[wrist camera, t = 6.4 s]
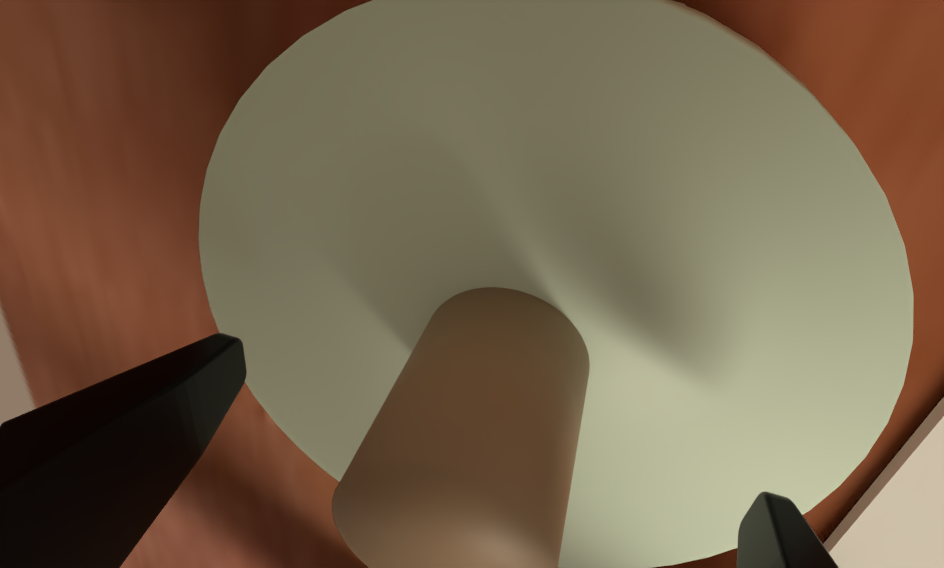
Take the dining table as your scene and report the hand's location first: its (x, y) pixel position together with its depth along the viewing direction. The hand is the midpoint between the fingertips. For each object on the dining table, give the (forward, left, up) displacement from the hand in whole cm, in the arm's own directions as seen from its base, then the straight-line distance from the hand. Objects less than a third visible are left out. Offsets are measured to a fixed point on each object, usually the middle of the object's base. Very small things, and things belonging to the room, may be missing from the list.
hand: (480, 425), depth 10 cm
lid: (0, 0, -2) cm, 3 cm away
